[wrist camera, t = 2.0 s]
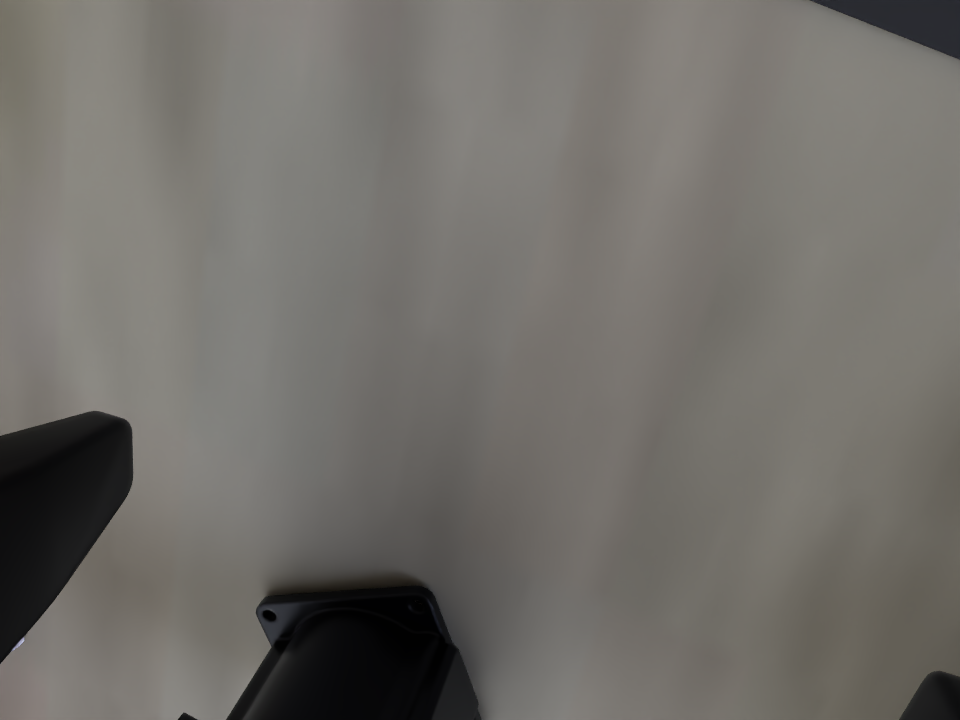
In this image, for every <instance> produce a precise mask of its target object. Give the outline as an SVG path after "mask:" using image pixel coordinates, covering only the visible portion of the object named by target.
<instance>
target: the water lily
mask: <svg viewBox="0 0 960 720" xmlns="http://www.w3.org/2000/svg"><path fill="white" fill-rule="evenodd" d="M24 640H25V639H24V637H23V638H22V639H21V640H20V642H19V643H18V644H17V645H16V646H15V647H14V649H16V648H17V647H19V646H20V645H21V644H22V643H23V642H24ZM14 649H13V650H14ZM13 650H12V651H13Z"/></svg>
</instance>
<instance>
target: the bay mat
mask: <svg viewBox="0 0 960 720" xmlns="http://www.w3.org/2000/svg"><path fill="white" fill-rule="evenodd" d="M811 1H813V2H816V3H818V4H821V5H823V6H826V7H829V8H831V9H834V10H836V11H839V12H841V13H844V14H846V15H849V16H851V17H854V18H856V19H859V20H861V21H864V22H866V23H869V24H872V25H874V26H877V27H879V28H882V29H884V30H887V31H889V32H892V33H894V34H897V35H899V36H902V37H904V38H907V39H909V40H912V41H915V42H917V43H920V44H922V45H925V46H927V47H930V48H932V49H935V50H937V51H940V52H942V53H945V54H947V55H950V56H952V57H955V58H958V59H960V0H811Z"/></svg>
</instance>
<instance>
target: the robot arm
mask: <svg viewBox="0 0 960 720" xmlns="http://www.w3.org/2000/svg"><path fill="white" fill-rule="evenodd" d="M132 481H133V445H132V428H131V426H130V424H129V422H128V421H126V420H125V419H123V418H120V417H117V416H113V415H110V414H107V413H104V412H100V411H91V412H87V413H83V414H79V415H76V416H72V417H68V418H65V419H61V420H57V421H54V422H50V423H46V424H43V425H39V426H35V427H31V428H28V429H24V430H20V431H17V432H13V433H9V434H6V435H2V436H0V664H1V662H2V661H3V660H4V659H5V658H6V657H7V655H8V654H9V653H10V652H11V651H12V650H13V649H14V647H15V646H16V645H17V644H18V643H19V642H20V640H21V639H22V638H23V637H24V636H25V635H26V633H27V632H28V631H29V630H30V629H31V628H32V626H33V625H34V624H35V623H36V622H37V621H38V620H39V618H40V617H41V616H42V615H43V613H44V612H45V611H46V610H47V609H48V607H49V606H50V605H51V604H52V603H53V601H54V600H55V599H56V597H57V596H58V595H59V593H60V592H61V590H62V589H63V588H64V586H65V585H66V584H67V582H68V581H69V579H70V578H71V576H72V575H73V574H74V572H75V571H76V569H77V568H78V566H79V565H80V564H81V562H82V561H83V559H84V558H85V556H86V555H87V553H88V552H89V551H90V549H91V548H92V546H93V545H94V543H95V542H96V541H97V539H98V538H99V536H100V535H101V533H102V532H103V530H104V529H105V528H106V526H107V525H108V523H109V522H110V520H111V519H112V517H113V516H114V515H115V513H116V512H117V510H118V509H119V507H120V506H121V505H122V503H123V502H124V500H125V499H126V497H127V495H128V493H129V491H130V488H131V485H132ZM415 600H418V601H420V602H422V603H423V604H419V603H417V602H416V601H415ZM270 610H271V611H270ZM273 612H274V613H273ZM256 614H257V617H258V619H259V622H260V624H261V626H262V628H263V630H264V632H265V634H266V636H267V638H268V640H269V642H270V644H271V647H272V648H271V649H270V651H269V652H268V654H267V656H266V657H265V659H264V660H263V662H262V664H261V665H260V667H259V668H258V670H257V671H256V673H255V675H254V676H253V678H252V679H251V681H250V683H249V684H248V686H247V687H246V689H245V691H244V692H243V694H242V695H241V697H240V699H239V700H238V702H237V703H236V705H235V707H234V708H233V710H232V711H231V713H230V714H229V716H228V718H227V719H226V720H481V717H480V714H479V712H478V709H477V708H478V700H477V697H476V695H475V692H474V689H473V687H472V684H471V681H470V679H469V676H468V673H467V671H466V668H465V665H464V663H463V660H462V658H461V655H460V652H459V650H458V648H457V647H456V646H455V645H454V644H453V643H452V641H451V638H450V635H449V633H448V630H447V627H446V625H445V622H444V620H443V617H442V614H441V612H440V609H439V606H438V604H437V601H436V598H435V596H434V595H433V593H432V592H431V591H430V590H429V589H427V588H425V587H423V586H402V587H388V588H375V589H361V590H347V591H333V592H319V593H305V594H291V595H277V596H268V597H265V598H264V599H263V600H262V601H261V603H260V604H259V606H258V607H257V609H256ZM178 720H197V719H195V718H194V717H192V716H190V715H188V714H186V713H183V714H182V715H181V716H180V718H179V719H178ZM899 720H960V677H958V676H955V675H952V674H949V673H945V672H942V671H934V672H931V673H930V674H929V675H927V676H926V678H925V679H924V680H923V682H922V683H921V685H920V687H919V688H918V690H917V691H916V693H915V695H914V696H913V698H912V700H911V701H910V703H909V704H908V706H907V708H906V709H905V711H904V713H903V714H902V716H901V717H900V719H899Z"/></svg>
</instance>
